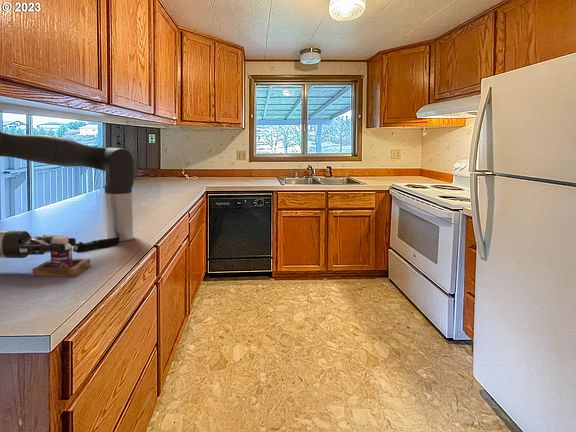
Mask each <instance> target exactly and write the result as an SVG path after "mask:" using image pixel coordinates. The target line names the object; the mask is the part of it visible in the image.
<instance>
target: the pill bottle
mask: <svg viewBox="0 0 576 432" xmlns="http://www.w3.org/2000/svg"><path fill="white" fill-rule="evenodd" d="M60 235H61V234H60ZM60 235H55V236H54V237H52V242H53V243H60V244H65V251H64V252H50V253H49V254H50V259H51V268H72V267H73V260H72V259H73V246H71V244H69V243H68V240H69V239H68V238H69V235H61V236H60Z"/></svg>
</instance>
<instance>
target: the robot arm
mask: <svg viewBox="0 0 576 432" xmlns="http://www.w3.org/2000/svg"><path fill="white" fill-rule="evenodd" d="M0 157H4V158H5V157H7V158H13V159H20V160H24V161H29V162H35V163H39V164H45V165H50V166H59V167H74V168H75V167H86V168H91V169H95V170H100V171H103V172H106V173H108V175H109V177H108V182H107V183H106V184H105V185H104V198H105V199H104V201H105V219H106V220H105V223H106V239H109V238H116V237H119V242H125V241H131V240H133V239H134V237H135V236H134V216H133V212H134V210H133V187H134V184H135V183H134V181H135V178H134V177H135V163H134V158H133V157H134V156H133V154H132V153H131V152H130V151H129V150H128V149H126V148H121V147H99V146H91V145H86V144H83V143H80V142H78V141H75V140H72V139H67V138H64V137H59V136H53V135H48V134H47V135H46V134H16V133H15V134H14V133H11V132H10V133H8V132H4V131H1V130H0ZM54 236H56V235H54V234H53V235H52V234H51V235H50V234H49V235H48V234H43V235H37V236H34V237H32V236H31V234H30V233H29V232H28V231H27V230H0V259H25V258H27V257H28V256H29V255H30V256H31V255H33V256H35V255H37V256H39V255H45V254H51V253H50V252H64V251H65V244H60V243H53V242H52V237H54ZM59 236H61V234H60V235H59ZM68 239H69V240H68V243H69V244H71V246H72V247H74V246H75V245H76V243H77V240H76V238H75V237H68Z"/></svg>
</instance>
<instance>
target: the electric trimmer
mask: <svg viewBox="0 0 576 432" xmlns="http://www.w3.org/2000/svg"><path fill="white" fill-rule="evenodd" d="M119 243H120V241H119V237H116V238H109V239H107V238H103V239H98V240H92V241H89V242H88V241H87V242H82V241H79V242H78V243H77V242H76V245H75V246H73V247H72V252H75V253H81V252H83V251H87V250H93V249H94V250H95V249H98V248H99V249H102V248H107V247H110V246H115V245H118V244H119Z"/></svg>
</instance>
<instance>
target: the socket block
mask: <svg viewBox="0 0 576 432" xmlns="http://www.w3.org/2000/svg"><path fill="white" fill-rule="evenodd" d="M72 260H73V267H72V268H51V258H50V259H49V260H47V261H45V262H42V263H41V264H39V265H37V266H35V267H33V268H32V277H51V276H75V277H76V276H78V275H80V272H81V273H82V272H83V271H85V270H86V269H88V268H89V267H91V258H72ZM87 267H88V268H87ZM77 274H78V275H77Z"/></svg>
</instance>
